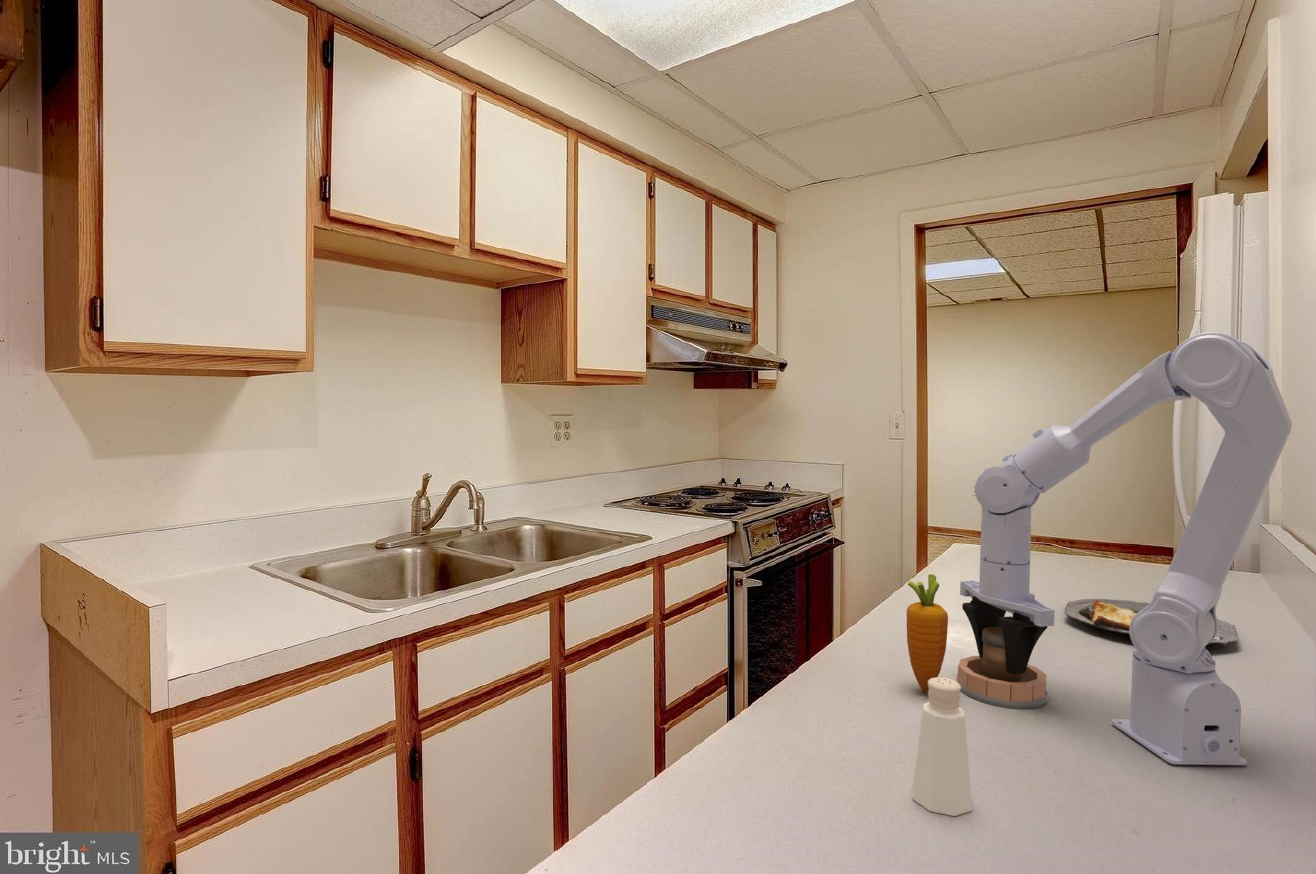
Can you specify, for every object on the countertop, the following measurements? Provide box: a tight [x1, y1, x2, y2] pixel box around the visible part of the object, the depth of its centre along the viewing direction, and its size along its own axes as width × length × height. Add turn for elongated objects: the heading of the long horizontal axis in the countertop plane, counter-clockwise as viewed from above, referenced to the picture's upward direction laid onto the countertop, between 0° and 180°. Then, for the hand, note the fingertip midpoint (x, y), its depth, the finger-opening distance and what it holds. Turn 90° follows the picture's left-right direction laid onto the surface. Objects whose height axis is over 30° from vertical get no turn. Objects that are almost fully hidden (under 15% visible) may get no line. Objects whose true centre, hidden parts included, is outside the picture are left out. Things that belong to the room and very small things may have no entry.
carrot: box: [906, 573, 949, 693], centre depth 87 cm, size 5×5×15 cm
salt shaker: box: [911, 676, 973, 817], centre depth 63 cm, size 5×5×11 cm
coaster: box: [956, 655, 1049, 710], centre depth 88 cm, size 10×10×3 cm
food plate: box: [1063, 598, 1240, 646], centre depth 115 cm, size 25×23×4 cm
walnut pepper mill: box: [982, 626, 1021, 682], centre depth 88 cm, size 5×5×6 cm
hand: (1001, 665), depth 88 cm, fingers closed on walnut pepper mill, 5 cm apart
